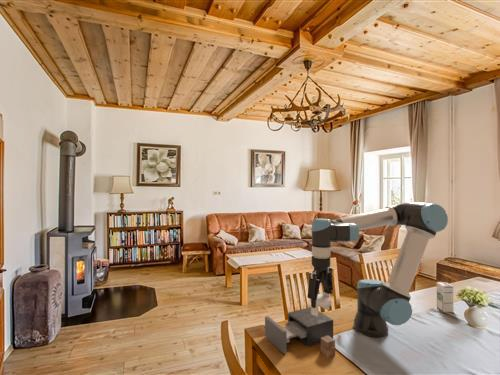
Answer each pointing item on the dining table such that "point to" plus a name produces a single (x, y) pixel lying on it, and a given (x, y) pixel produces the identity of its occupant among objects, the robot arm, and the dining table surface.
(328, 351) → the pedestal
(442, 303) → the syrup box
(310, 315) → the housing
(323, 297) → the disc
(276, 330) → the grey drawer
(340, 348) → the dining table surface
